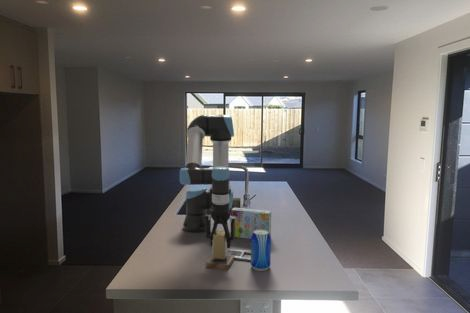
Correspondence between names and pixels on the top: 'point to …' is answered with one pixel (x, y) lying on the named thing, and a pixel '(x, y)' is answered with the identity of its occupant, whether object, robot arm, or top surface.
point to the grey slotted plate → (239, 254)
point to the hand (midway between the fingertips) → (220, 253)
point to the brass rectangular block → (219, 245)
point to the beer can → (260, 250)
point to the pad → (220, 262)
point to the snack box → (250, 221)
